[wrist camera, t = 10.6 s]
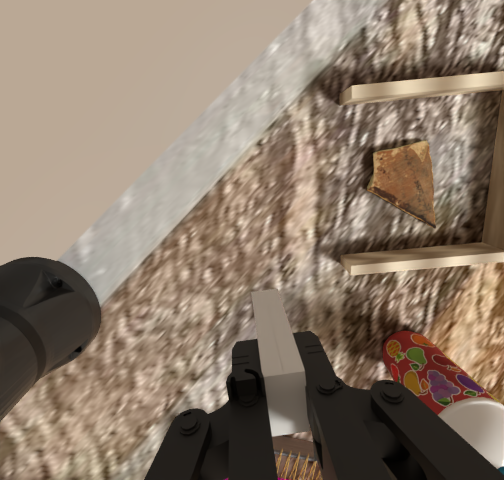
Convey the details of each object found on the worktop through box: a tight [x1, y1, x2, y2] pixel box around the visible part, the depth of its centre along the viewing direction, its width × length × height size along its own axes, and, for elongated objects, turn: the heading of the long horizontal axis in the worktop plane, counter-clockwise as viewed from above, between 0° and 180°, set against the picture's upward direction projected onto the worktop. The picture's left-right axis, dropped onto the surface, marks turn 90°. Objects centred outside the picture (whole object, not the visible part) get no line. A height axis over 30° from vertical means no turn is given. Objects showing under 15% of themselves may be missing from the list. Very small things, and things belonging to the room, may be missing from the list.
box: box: [340, 71, 504, 275], centre depth 33 cm, size 20×20×4 cm
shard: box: [367, 140, 436, 228], centre depth 35 cm, size 11×8×2 cm
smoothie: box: [383, 331, 504, 475], centre depth 32 cm, size 8×8×20 cm
